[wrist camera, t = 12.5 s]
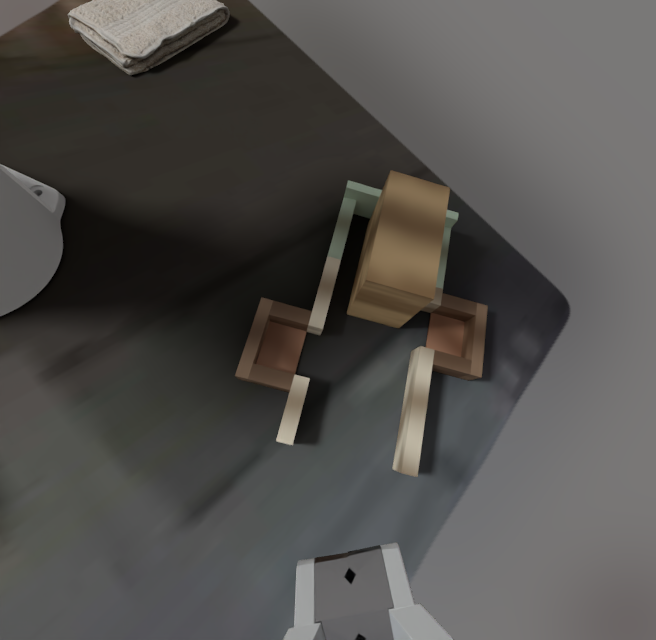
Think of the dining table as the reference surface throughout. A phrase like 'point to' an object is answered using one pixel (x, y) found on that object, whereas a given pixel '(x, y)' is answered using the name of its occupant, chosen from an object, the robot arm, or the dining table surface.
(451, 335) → the lane
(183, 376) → the dining table surface
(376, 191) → the end wall
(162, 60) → the washcloth
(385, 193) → the block
